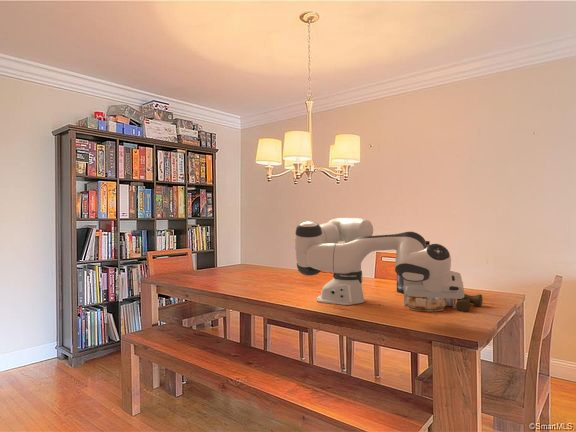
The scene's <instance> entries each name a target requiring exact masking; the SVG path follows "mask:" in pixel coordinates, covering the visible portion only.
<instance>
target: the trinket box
mask: <svg viewBox="0 0 576 432" xmlns="http://www.w3.org/2000/svg"><path fill="white" fill-rule="evenodd" d="M406 306H407V308H408V309H409V310H411V311H416V312H417V311H418V312H419V311H420V312H441V311H444V310H445V307H446V298H441V299H439V300H438V302H429V299H428V298H427V297H416V296H407V298H406Z"/></svg>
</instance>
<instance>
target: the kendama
mask: <svg viewBox="0 0 576 432" xmlns="http://www.w3.org/2000/svg"><path fill="white" fill-rule="evenodd" d="M483 299H484V298H483V294H482V293H481V294H475V295H470V294H469V295H468V294H466V293H464V298H462V299H456V308H455V309H456V310H458V311H459V312H462V313H466V312H468V311H470V308H471V307H472V306H471V305H474V306H476V307H477V308H481V307H482V306H483Z"/></svg>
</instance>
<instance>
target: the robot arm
mask: <svg viewBox="0 0 576 432" xmlns="http://www.w3.org/2000/svg"><path fill="white" fill-rule="evenodd" d="M373 234H374V225H373V224H372V222H371V221H370V220H369V219H365V218H361V217H337V218H333V219H330V220H329V221H328V222H324V223H321V224H319V223H317V222H314V221H308V220H307V221H304V222H300V223H299V224H298V225H297V226H296V228H295V239H294V240H295V241H294V242H295V247H294V248H295V259H296V267H297V271H298V273H300V274H302V275H303V276H308V277H309V276H310V277H311V276H312V277H313V276H315V275H318V274H320V273H321V272H325V273H326V272H327V273H332V279H331V280H329V281H328V282H326V283H325V284H324V285H323V286H322V289H321V293H320V294H319V295H318V296H317V297H316V302H317V301H318V303H325V304H334V305H343V306H350V305H357V304H361V303H364V302H366V299H365V296H364V290H363V271H362V262H363V261H364V259H365V258H366V257H367V256H368V255H369V254H370V253H373V252H378V251H391V250H393V251H396V253H395V254H396V255H395V262H394V263H395V265H394V271H395V273H396V276H397V275H398V276H400V277H401V278H402V279H404V280H405V285H406V295H407V296H416V297H427V298H428V299H429V302H438V300H439V299H441V298H456V300H457V299H462V298H464V294H465V287H464V282H463V279H462V275H461V273H460V272H457V271H454V270H451V268H452V267H451V266H452V257H451V254H450V253H451V252H450V251H449V249H448V248H447V247H446V246H444V245H442V244H439V243H430V245H429V246H428V247H427V248H425V246H426V241H427V240H426V239H425V238H424V237H423V236H422V235H421V234H419V233H418V232H415V231H405V232H400V233H395V234H381V235H379V234H378V235H373Z"/></svg>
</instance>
